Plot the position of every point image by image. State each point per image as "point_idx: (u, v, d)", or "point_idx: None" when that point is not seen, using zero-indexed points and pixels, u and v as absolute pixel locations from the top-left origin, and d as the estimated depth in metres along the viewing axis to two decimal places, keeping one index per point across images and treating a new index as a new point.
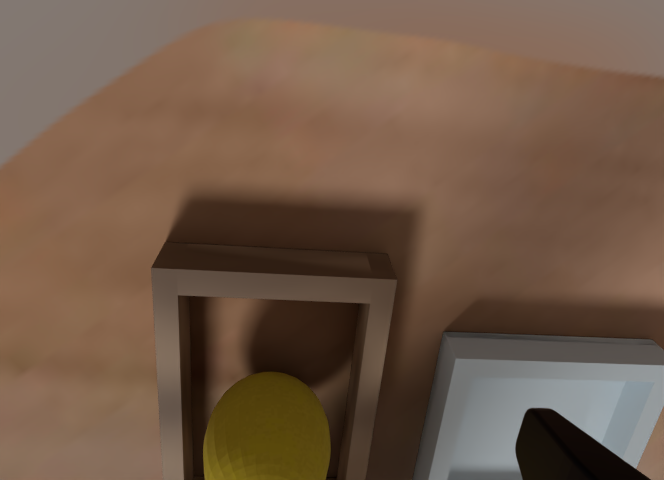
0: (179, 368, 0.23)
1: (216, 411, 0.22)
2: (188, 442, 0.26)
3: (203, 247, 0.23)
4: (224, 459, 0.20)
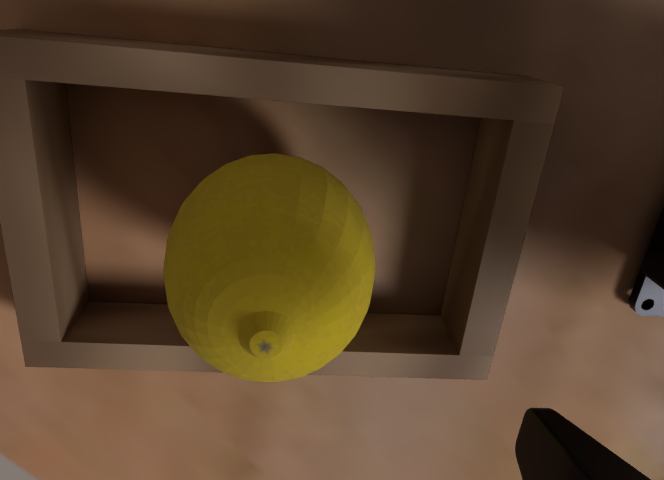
0: (181, 346, 0.17)
1: None
2: None
3: None
4: None
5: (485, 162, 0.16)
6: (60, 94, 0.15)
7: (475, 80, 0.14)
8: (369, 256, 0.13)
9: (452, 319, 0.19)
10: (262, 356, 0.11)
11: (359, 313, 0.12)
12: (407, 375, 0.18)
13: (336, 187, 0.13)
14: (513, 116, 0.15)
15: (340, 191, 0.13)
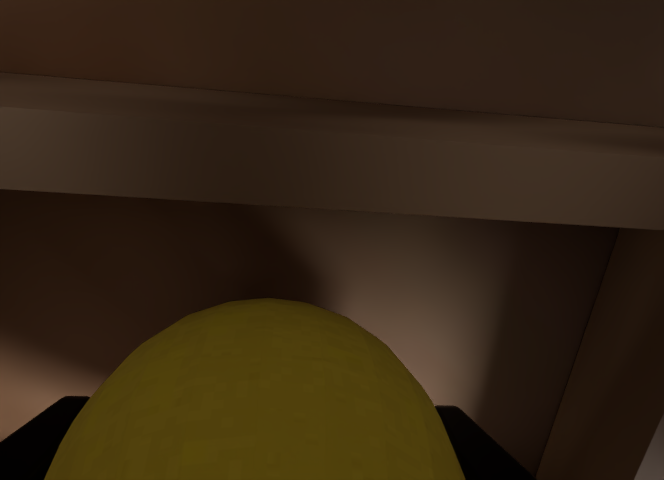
0: None
1: None
2: None
3: None
4: None
5: (646, 287, 0.09)
6: None
7: None
8: None
9: None
10: None
11: None
12: None
13: (401, 415, 0.06)
14: None
15: (410, 424, 0.06)
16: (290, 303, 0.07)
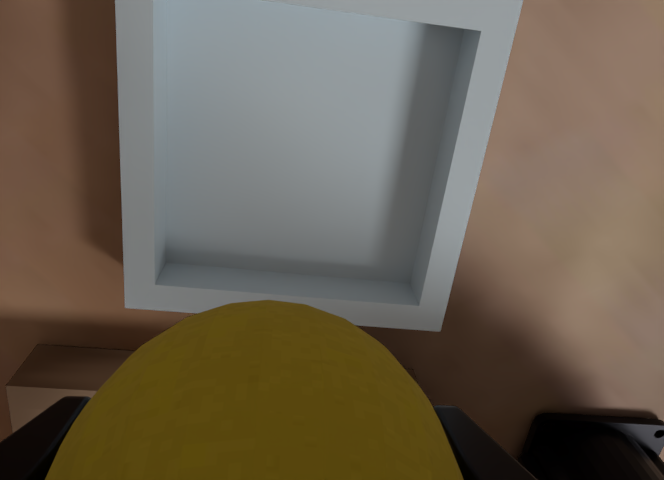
0: None
1: None
2: None
3: None
4: None
5: None
6: None
7: None
8: None
9: None
10: None
11: None
12: None
13: (400, 417, 0.06)
14: None
15: (409, 426, 0.06)
16: (289, 305, 0.07)
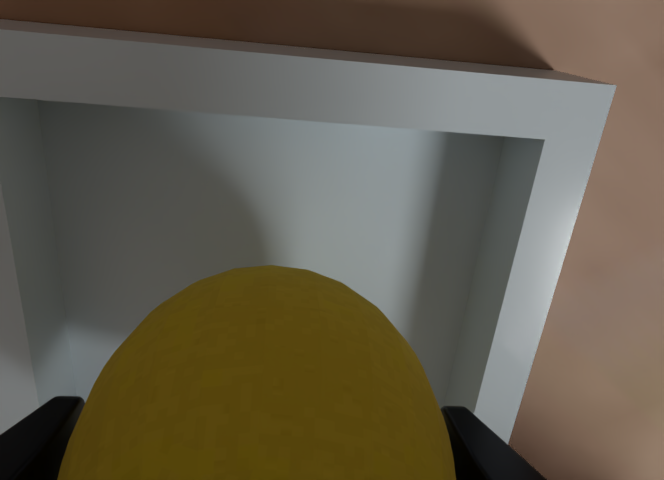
0: None
1: None
2: None
3: None
4: None
5: None
6: None
7: None
8: None
9: None
10: None
11: None
12: None
13: (386, 356, 0.07)
14: None
15: (394, 363, 0.07)
16: (291, 268, 0.08)
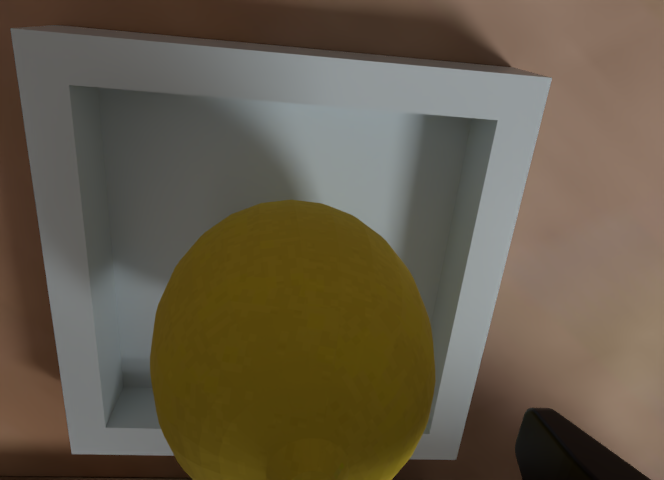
0: None
1: None
2: None
3: None
4: None
5: None
6: None
7: None
8: (431, 336, 0.09)
9: None
10: None
11: (426, 418, 0.09)
12: None
13: (379, 243, 0.10)
14: None
15: (385, 248, 0.10)
16: None
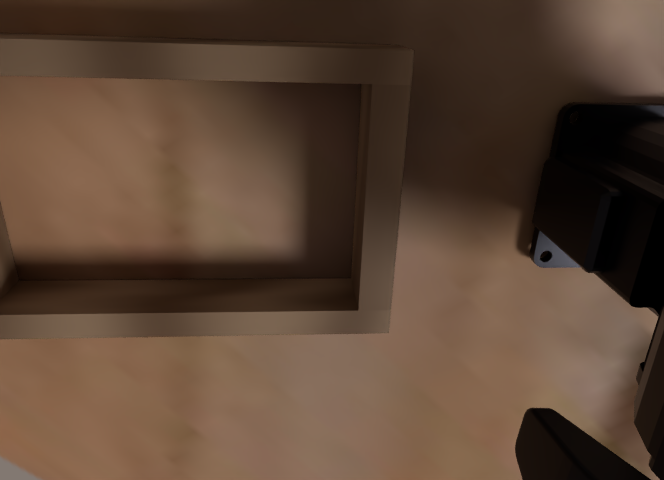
0: (95, 314, 0.18)
1: None
2: (261, 292, 0.20)
3: None
4: None
5: (363, 127, 0.18)
6: None
7: (329, 49, 0.15)
8: None
9: (355, 278, 0.20)
10: None
11: None
12: (312, 332, 0.19)
13: None
14: (370, 80, 0.16)
15: None
16: None
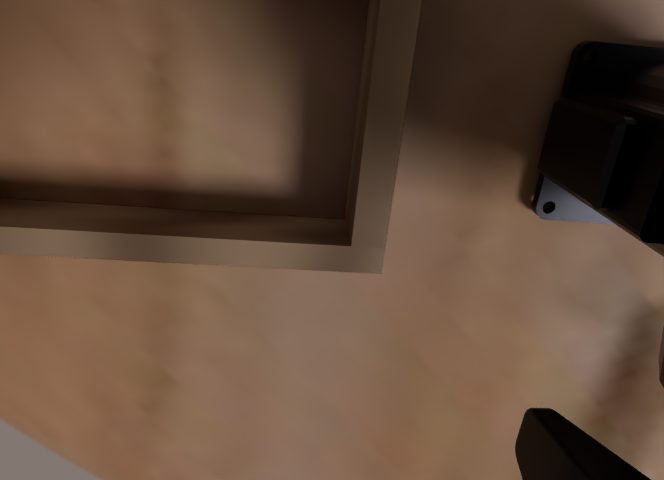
0: (71, 231, 0.17)
1: None
2: (249, 224, 0.19)
3: None
4: None
5: (368, 47, 0.17)
6: None
7: None
8: None
9: (349, 215, 0.19)
10: None
11: None
12: (301, 268, 0.18)
13: None
14: None
15: None
16: None
